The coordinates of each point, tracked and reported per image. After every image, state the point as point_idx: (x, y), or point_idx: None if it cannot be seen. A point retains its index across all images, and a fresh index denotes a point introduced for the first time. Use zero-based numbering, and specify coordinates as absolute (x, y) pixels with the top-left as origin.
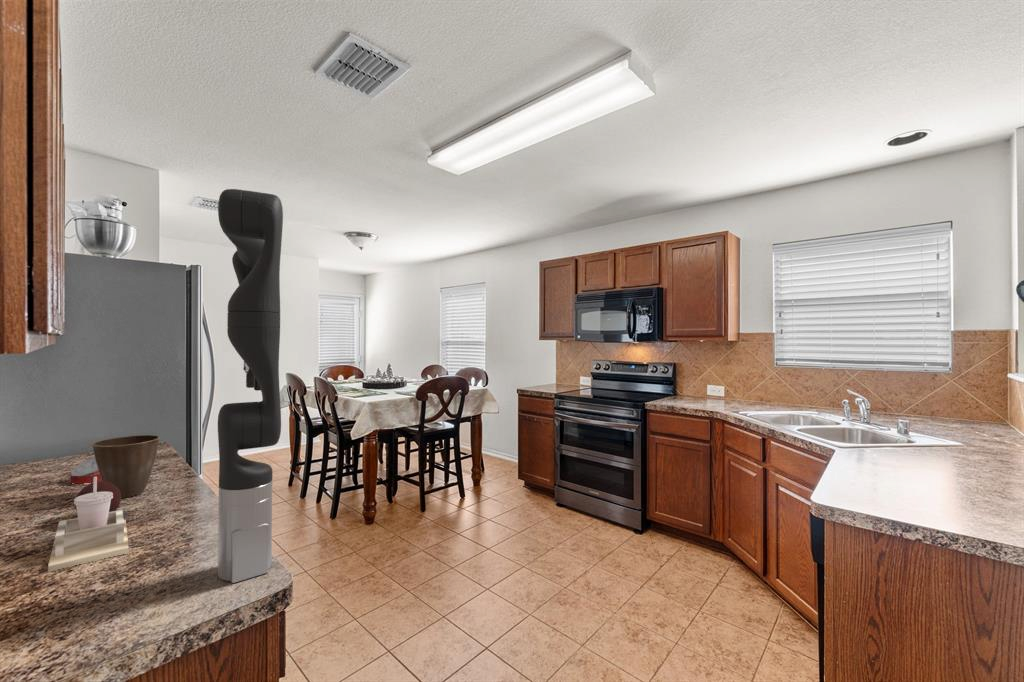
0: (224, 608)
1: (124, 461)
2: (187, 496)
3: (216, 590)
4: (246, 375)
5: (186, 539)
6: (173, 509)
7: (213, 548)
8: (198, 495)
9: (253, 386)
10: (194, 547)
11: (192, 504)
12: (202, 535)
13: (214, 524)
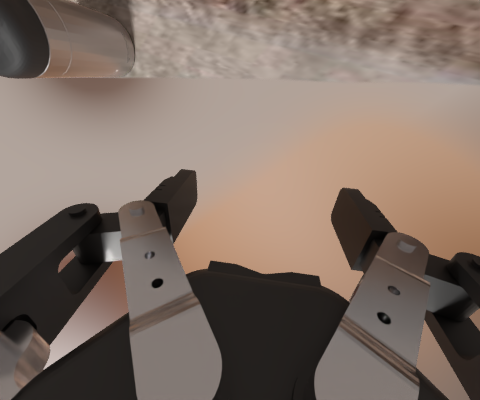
0: None
1: None
2: (463, 50)
3: None
4: (377, 224)
5: (245, 3)
6: (410, 10)
7: (189, 31)
8: (446, 68)
9: (334, 212)
10: (207, 8)
11: (404, 47)
12: (244, 28)
13: (275, 55)
